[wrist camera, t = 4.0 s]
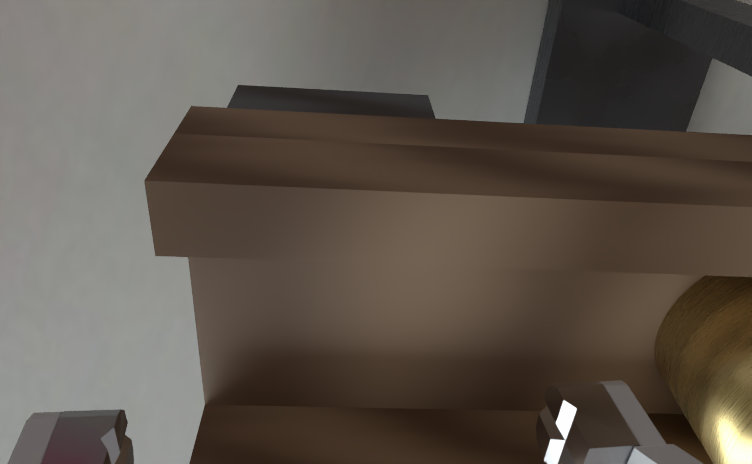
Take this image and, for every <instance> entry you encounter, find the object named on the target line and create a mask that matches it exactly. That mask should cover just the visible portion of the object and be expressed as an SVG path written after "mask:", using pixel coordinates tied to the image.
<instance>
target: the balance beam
mask: <svg viewBox="0 0 752 464" xmlns="http://www.w3.org/2000/svg"><path fill="white" fill-rule="evenodd" d="M145 188H146V195H147V202H148V208H149V215H150V222H151V229H152V235H153V242H154V249H155V256H176V257H188V259H189V268H190V277H191V285H192V294H193V303H194V312H195V320H196V329H197V338H198V347H199V355H200V364H201V373H202V382H203V391H204V399H205V407H204V411H203V414H202V418H201V422H200V426H199V430H198V433H197V437H196V441H195V445H194V449H193V452H192V456H191V460H190V464H548V463H546V462H545V461H544V460H543V457H542V455H541V453H540V450H539V447H538V443H537V439H536V423H537V419H538V415H539V413H540V412H541V411H542V410H544V409H545V408H546V407H547V404H546V402H545V400H544V395H545V392H546V389H547V388H548V387H549V386H550V385H552V384H566V383H581V382H599V381H616V380H622V381H623V382H625V383H626V384H627V385H628V387H629V388H630V390H631V391H632V393H633V394H634V396H635V397H636V399H637V400H638V402H639V403H640V405H641V406H642V408H643V409H644V411H645V412H646V414H647V415H648V417H649V418H650V420H651V421H652V423H653V424H654V426H655V427H656V429H657V430H658V432H659V433H660V435H661V436H662V438H663V439H664V441H665V442H666V444H674V445H676V446H677V447H679V448H680V449H682V450H684V451H685V452H687V453H688V454H690V455H691V456H693V457H694V458H696V459H697V460H699V461H700V462H702V463H703V464H713V462H712V460H711V459H710V457H709V455H708V454H707V452H706V450H705V449H704V447H703V445H702V444H701V442H700V440H699V439H698V437H697V435H696V434H695V432H694V430H693V428H692V427H691V425H690V423H689V422H688V420H687V418H686V417H685V415H684V413H683V412H682V410H681V408H680V407H679V405H678V403H677V402H676V400H675V398H674V397H673V395H672V393H671V392H670V390H669V388H668V387H667V385H666V383H665V381H664V380H663V378H662V376H661V375H660V373H659V371H658V368H657V366H656V362H655V358H654V346H655V339H656V336H657V333H658V329H659V327H660V325H661V323H662V321H663V319H664V317H665V316H666V314H667V313H668V311H669V310H670V308H671V307H672V306H673V304H674V303H675V302H676V301H677V300H678V298H679V297H680V296H681V295H682V294H683V293H684V292H685V291H686V290H688V289H689V288H690V287H691V286H692V285H693V284H695V283H696V282H697V281H698V280H700V279H701V278H703V277H704V276H706V275H708V276H736V277H752V135H737V134H717V133H698V132H679V131H660V130H640V129H621V128H602V127H583V126H563V125H544V124H525V123H506V122H486V121H467V120H448V119H435V116H434V113H433V110H432V106H431V103H430V100H429V97H428V95H412V94H393V93H375V92H356V91H338V90H320V89H301V88H283V87H265V86H246V85H238V86H237V88H236V91H235V93H234V95H233V97H232V99H231V101H230V103H229V105H228V107H227V108H217V107H197V106H191V108H190V109H189V111H188V112H187V114H186V116H185V117H184V119H183V120H182V122H181V124H180V125H179V127H178V128H177V130H176V131H175V133H174V135H173V136H172V138H171V139H170V141H169V143H168V144H167V146H166V147H165V149H164V150H163V152H162V154H161V155H160V157H159V158H158V160H157V162H156V163H155V165H154V166H153V168H152V169H151V171H150V173H149V174H148V176H147V177H146V179H145Z"/></svg>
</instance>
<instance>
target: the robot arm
mask: <svg viewBox="0 0 752 464" xmlns="http://www.w3.org/2000/svg"><path fill="white" fill-rule="evenodd" d="M544 400H545V402H546V404H547V407H546V408H545V409H544V410H542V411H541V412H540V413H539V415H538V419H537V423H536V439H537V443H538V447H539V450H540V453H541V455H542V457H543V460H544V461H545V462H546V463H548V464H703V463H702V462H700V461H699V460H697V459H696V458H694V457H693V456H691V455H690V454H688V453H687V452H685V451H684V450H682V449H680V448H679V447H677V446H676V445H674V444H666V442H665V441H664V439H663V438H662V436H661V435H660V433H659V432H658V430H657V429H656V427H655V426H654V424H653V423H652V421H651V420H650V418H649V417H648V415H647V414H646V412H645V411H644V409H643V408H642V406H641V405H640V403H639V402H638V400H637V399H636V397H635V396H634V394H633V393H632V391H631V390H630V388H629V387H628V385H627V384H626V383H625V382H623V381H622V380H616V381H599V382H581V383H566V384H552V385H550V386H549V387H548V388H547V389H546V392H545V395H544ZM127 423H128V422H127V419H126V415H125V411H124V410H91V411H64V412H44V413H33V414H32V415H31V416H30V417H29V419H28V420H27V421H26V423H25V425H24V427H23V430H22V432H21V434H20V437H19V439H18V441H17V443H16V446H15V448H14V450H13V452H12V455H11V457H10V459H9V462H8V464H134V456H133V446H132V441H131V439H130V438H128V437H127V436H126V435H125V431H126V427H127Z"/></svg>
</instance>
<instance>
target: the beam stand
mask: <svg viewBox="0 0 752 464" xmlns="http://www.w3.org/2000/svg"><path fill="white" fill-rule="evenodd" d="M712 58H714V59H716V60H718V61H720V62H723V63H725V64H727V65H729V66H731V67H733V68H735V69H737V70H739V71H741V72H743V73H746V74H748V75H750V76H752V5H749V4H746V3H742V2H739V1H736V0H549V5H548V10H547V14H546V19H545V24H544V29H543V34H542V38H541V43H540V48H539V53H538V58H537V63H536V67H535V72H534V77H533V82H532V87H531V91H530V96H529V101H528V106H527V111H526V115H525V120H524V123H525V124H544V125H563V126H583V127H602V128H621V129H640V130H660V131H679V132H686V129H687V127H688V124H689V121H690V118H691V115H692V113H693V110H694V107H695V104H696V102H697V99H698V96H699V93H700V90H701V88H702V85H703V82H704V79H705V77H706V74H707V71H708V68H709V65H710V63H711V60H712Z"/></svg>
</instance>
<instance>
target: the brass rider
mask: <svg viewBox="0 0 752 464" xmlns="http://www.w3.org/2000/svg"><path fill="white" fill-rule="evenodd" d="M654 358H655V362H656V366H657V368H658V371H659V373H660V375H661V376H662V378H663V380H664V381H665V383H666V385H667V387H668V388H669V390H670V392H671V393H672V395H673V397H674V398H675V400H676V402H677V403H678V405H679V407H680V408H681V410H682V412H683V413H684V415H685V417H686V418H687V420H688V422H689V423H690V425H691V427H692V428H693V430H694V432H695V434H696V435H697V437H698V439H699V440H700V442H701V444H702V445H703V447H704V449H705V450H706V452H707V454H708V455H709V457H710V459H711V460H712V462H713V464H752V277H736V276H708V275H706V276H704V277H703V278H701V279H700V280H698V281H697V282H696V283H695V284H693V285H692V286H691V287H690V288H689V289H688V290H686V291H685V292H684V293H683V294H682V295H681V296H680V297H679V298H678V300H677V301H676V302H675V303H674V304H673V306H672V307H671V308H670V310H669V311H668V313H667V314H666V316H665V317H664V319H663V321H662V323H661V325H660V327H659V329H658V333H657V336H656V339H655V346H654Z"/></svg>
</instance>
